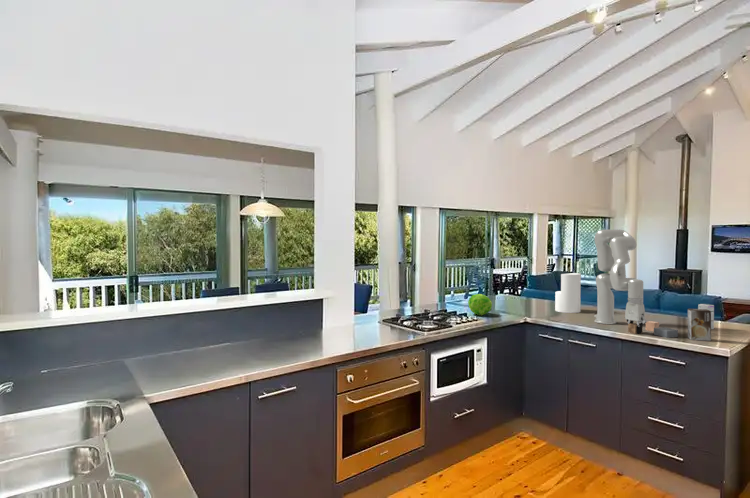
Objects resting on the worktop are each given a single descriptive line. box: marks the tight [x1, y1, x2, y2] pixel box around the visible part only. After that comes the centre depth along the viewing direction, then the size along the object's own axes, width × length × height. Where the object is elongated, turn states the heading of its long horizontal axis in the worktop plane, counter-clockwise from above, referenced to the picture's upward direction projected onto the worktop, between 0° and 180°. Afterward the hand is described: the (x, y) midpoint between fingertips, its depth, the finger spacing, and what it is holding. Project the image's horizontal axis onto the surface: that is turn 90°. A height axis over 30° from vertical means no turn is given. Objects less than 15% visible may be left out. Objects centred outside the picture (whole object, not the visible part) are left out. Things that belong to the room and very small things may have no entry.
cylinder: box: [554, 272, 582, 314], centre depth 331 cm, size 17×17×28 cm
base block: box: [653, 326, 679, 339], centre depth 248 cm, size 8×8×4 cm
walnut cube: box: [627, 322, 643, 335], centre depth 255 cm, size 5×5×5 cm
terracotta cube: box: [645, 320, 660, 332], centre depth 262 cm, size 5×5×5 cm
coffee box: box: [687, 308, 712, 342], centre depth 238 cm, size 9×6×16 cm
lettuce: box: [467, 293, 493, 316], centre depth 317 cm, size 17×20×15 cm
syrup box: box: [697, 303, 715, 330], centre depth 266 cm, size 6×6×14 cm
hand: (635, 331), depth 255 cm, fingers closed on walnut cube, 5 cm apart
